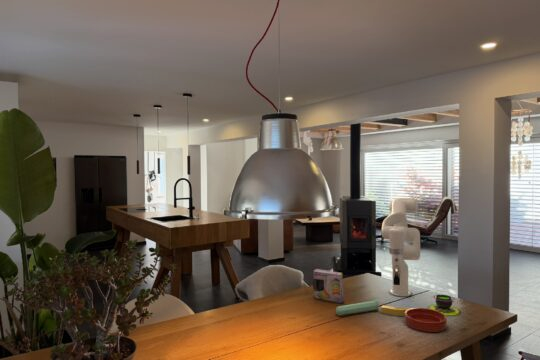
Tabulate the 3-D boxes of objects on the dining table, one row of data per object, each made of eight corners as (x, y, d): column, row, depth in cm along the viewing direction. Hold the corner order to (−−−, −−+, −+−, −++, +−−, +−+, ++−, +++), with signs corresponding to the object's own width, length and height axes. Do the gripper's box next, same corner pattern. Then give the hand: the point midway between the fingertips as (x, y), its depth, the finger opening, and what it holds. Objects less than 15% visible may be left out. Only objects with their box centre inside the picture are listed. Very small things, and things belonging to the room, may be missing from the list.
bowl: (404, 315, 203) (404, 306, 203) (444, 319, 197) (444, 310, 196) (405, 330, 185) (405, 320, 184) (448, 335, 178) (448, 324, 178)
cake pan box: (312, 297, 233) (312, 269, 233) (316, 295, 237) (316, 268, 237) (340, 304, 221) (340, 274, 221) (344, 301, 225) (343, 272, 225)
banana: (381, 310, 210) (381, 305, 210) (412, 313, 205) (412, 308, 205) (381, 314, 205) (381, 308, 205) (412, 317, 200) (412, 311, 200)
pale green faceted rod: (337, 305, 202) (377, 299, 210) (333, 306, 207) (372, 300, 215) (340, 317, 200) (380, 310, 208) (335, 317, 205) (374, 310, 213)
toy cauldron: (464, 312, 206) (464, 292, 206) (446, 317, 200) (446, 296, 199) (441, 303, 220) (441, 285, 219) (423, 308, 213) (423, 289, 213)
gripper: (404, 254, 194) (404, 287, 195) (403, 248, 211) (403, 278, 211) (388, 253, 197) (389, 286, 197) (389, 247, 213) (389, 277, 213)
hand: (396, 282), depth 204 cm, fingers open, 9 cm apart
